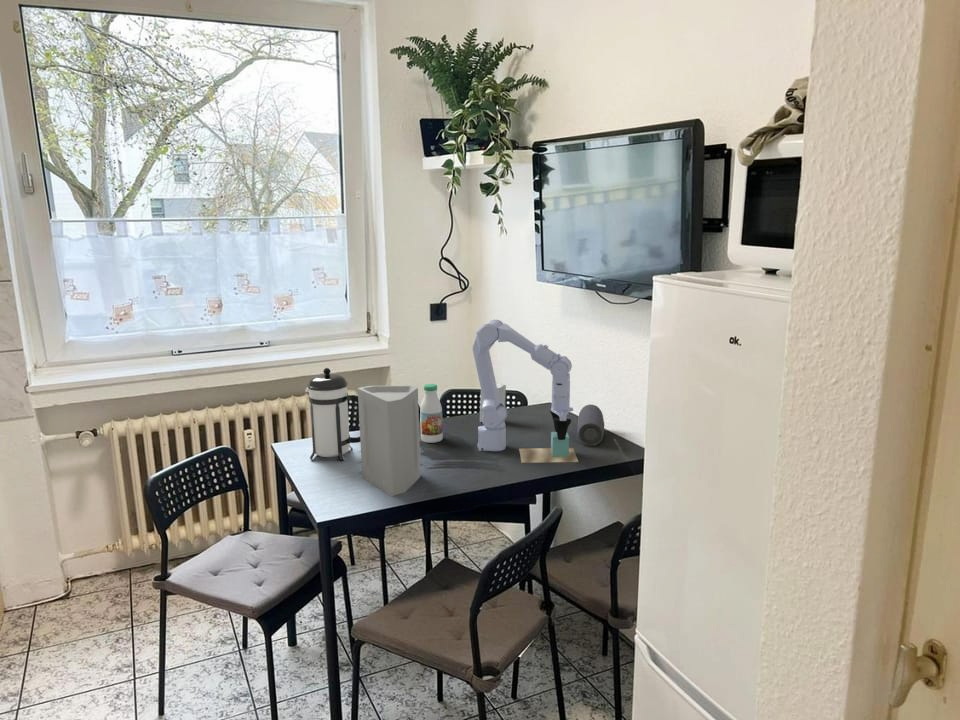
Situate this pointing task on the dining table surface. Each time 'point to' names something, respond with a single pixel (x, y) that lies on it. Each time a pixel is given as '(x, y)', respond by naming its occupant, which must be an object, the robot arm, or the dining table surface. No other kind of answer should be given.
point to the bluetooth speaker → (590, 425)
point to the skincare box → (501, 394)
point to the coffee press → (330, 415)
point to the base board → (544, 456)
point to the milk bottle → (431, 415)
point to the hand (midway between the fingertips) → (560, 435)
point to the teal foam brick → (559, 446)
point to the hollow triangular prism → (389, 436)
